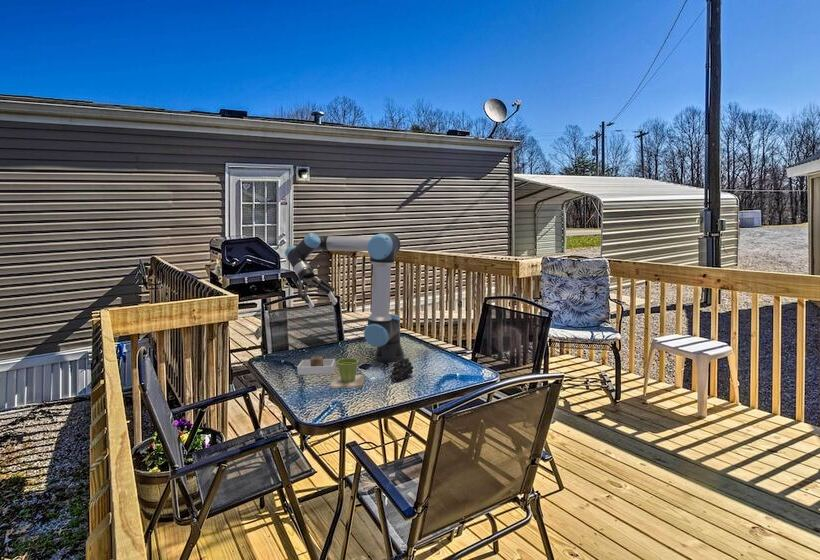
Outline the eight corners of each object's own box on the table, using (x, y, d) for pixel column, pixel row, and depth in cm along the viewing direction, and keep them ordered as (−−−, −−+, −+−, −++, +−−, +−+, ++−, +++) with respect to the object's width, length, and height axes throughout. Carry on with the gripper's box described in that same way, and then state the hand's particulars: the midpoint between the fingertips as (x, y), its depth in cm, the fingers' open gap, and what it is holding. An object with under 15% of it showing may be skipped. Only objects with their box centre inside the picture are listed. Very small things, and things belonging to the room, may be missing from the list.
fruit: (394, 364, 212) (412, 354, 225) (379, 367, 217) (398, 357, 229) (400, 383, 212) (418, 372, 225) (385, 386, 217) (404, 375, 229)
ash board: (364, 376, 224) (364, 374, 224) (362, 387, 210) (362, 385, 210) (333, 377, 224) (333, 375, 224) (329, 388, 210) (329, 386, 210)
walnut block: (323, 368, 235) (322, 356, 234) (321, 371, 230) (321, 359, 229) (312, 368, 235) (312, 356, 234) (310, 372, 230) (310, 359, 229)
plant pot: (355, 384, 212) (354, 364, 210) (334, 383, 213) (333, 363, 212) (361, 377, 221) (360, 358, 220) (341, 376, 222) (340, 357, 221)
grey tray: (335, 367, 239) (335, 358, 238) (332, 375, 227) (332, 366, 226) (302, 368, 238) (302, 359, 238) (297, 376, 226) (297, 367, 226)
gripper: (322, 274, 253) (341, 306, 245) (279, 280, 235) (299, 314, 227) (327, 265, 249) (348, 296, 241) (285, 269, 231) (305, 304, 223)
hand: (324, 305), depth 234 cm, fingers open, 13 cm apart
